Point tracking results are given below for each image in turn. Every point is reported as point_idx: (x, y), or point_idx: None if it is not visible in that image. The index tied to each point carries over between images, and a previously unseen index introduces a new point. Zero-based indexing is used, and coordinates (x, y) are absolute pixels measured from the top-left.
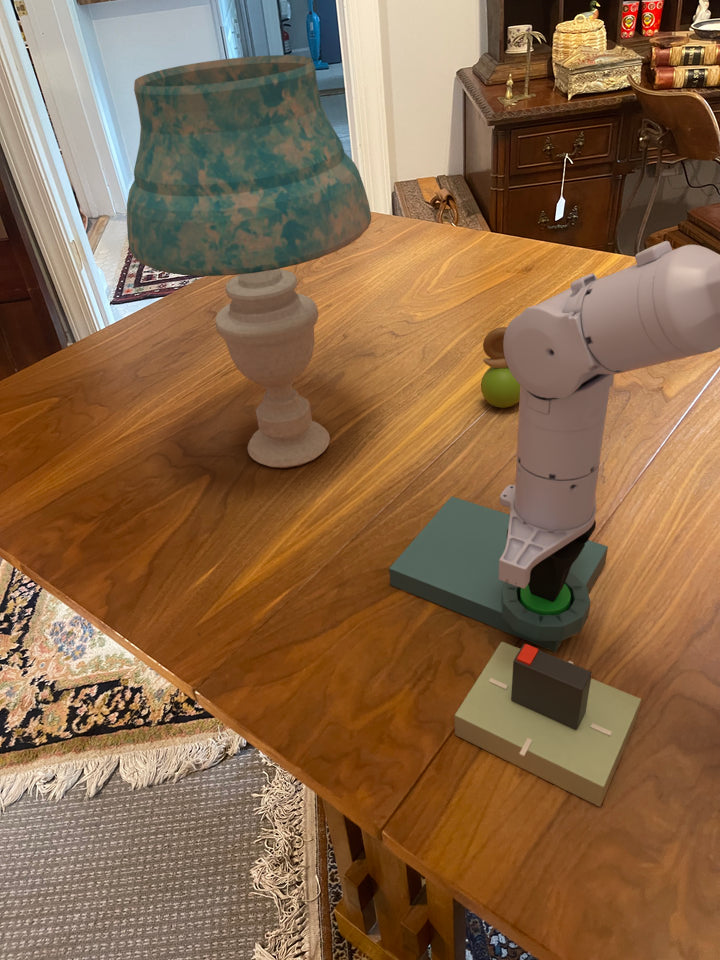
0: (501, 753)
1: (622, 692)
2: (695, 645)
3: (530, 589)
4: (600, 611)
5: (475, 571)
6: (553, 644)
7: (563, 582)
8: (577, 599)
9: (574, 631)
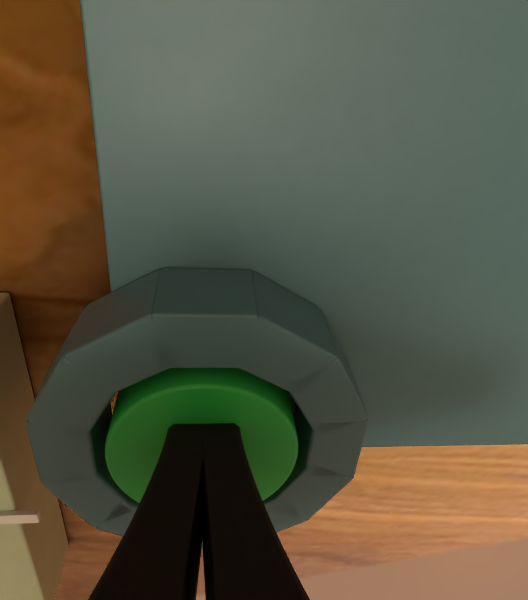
0: None
1: (37, 596)
2: (305, 561)
3: (164, 445)
4: None
5: (288, 85)
6: None
7: (196, 592)
8: None
9: None
